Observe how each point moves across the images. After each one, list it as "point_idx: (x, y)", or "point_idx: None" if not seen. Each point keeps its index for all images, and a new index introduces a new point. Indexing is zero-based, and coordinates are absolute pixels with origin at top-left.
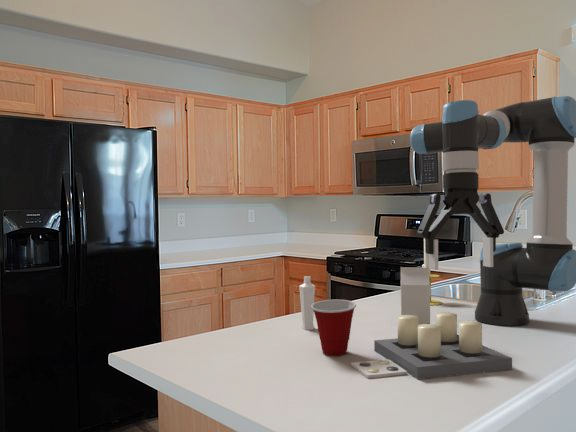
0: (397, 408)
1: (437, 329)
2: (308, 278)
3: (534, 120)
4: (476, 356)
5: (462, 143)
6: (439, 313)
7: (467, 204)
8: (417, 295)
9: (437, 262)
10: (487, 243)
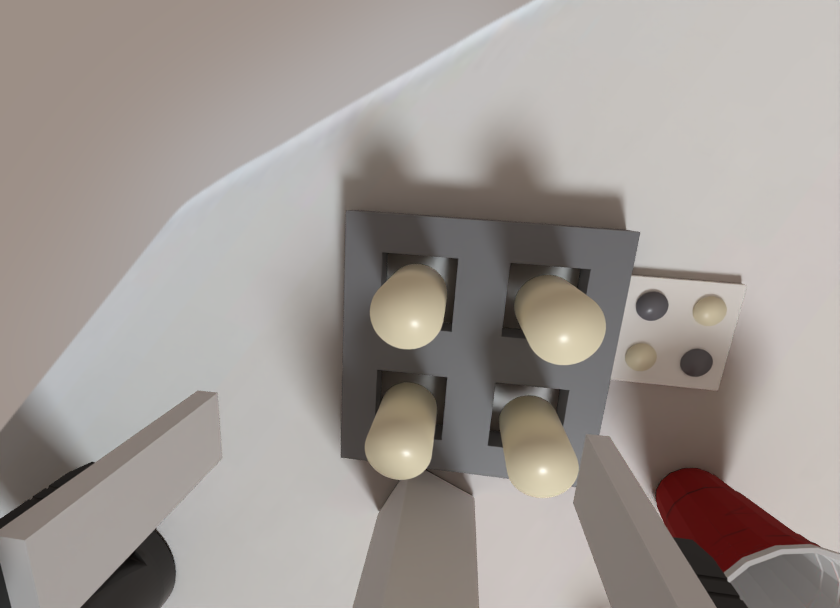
0: (817, 56)
1: (560, 291)
2: None
3: None
4: None
5: None
6: (411, 469)
7: None
8: (428, 596)
9: (606, 465)
10: (89, 530)
